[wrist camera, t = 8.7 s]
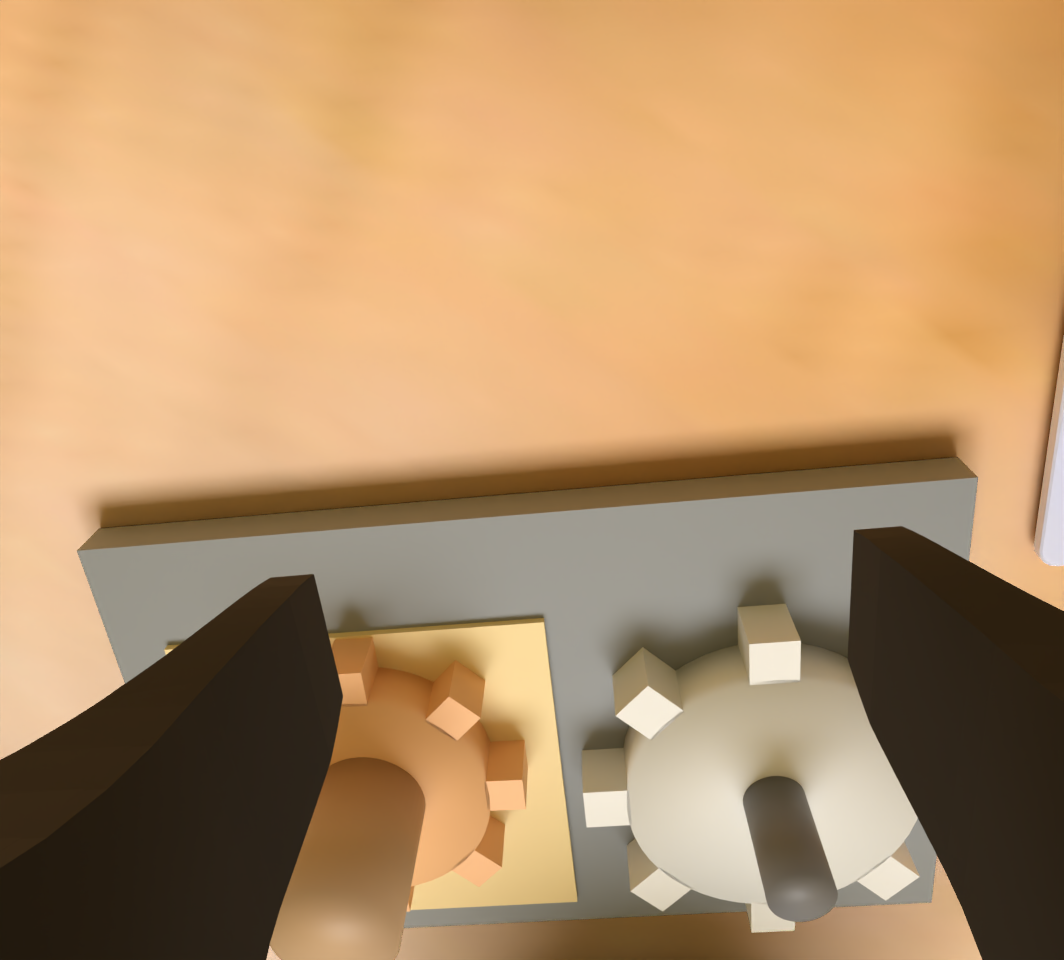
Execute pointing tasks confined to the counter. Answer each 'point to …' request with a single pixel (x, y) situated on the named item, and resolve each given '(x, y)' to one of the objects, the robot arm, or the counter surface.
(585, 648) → the gear board
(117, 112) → the counter surface
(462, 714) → the wood gear
